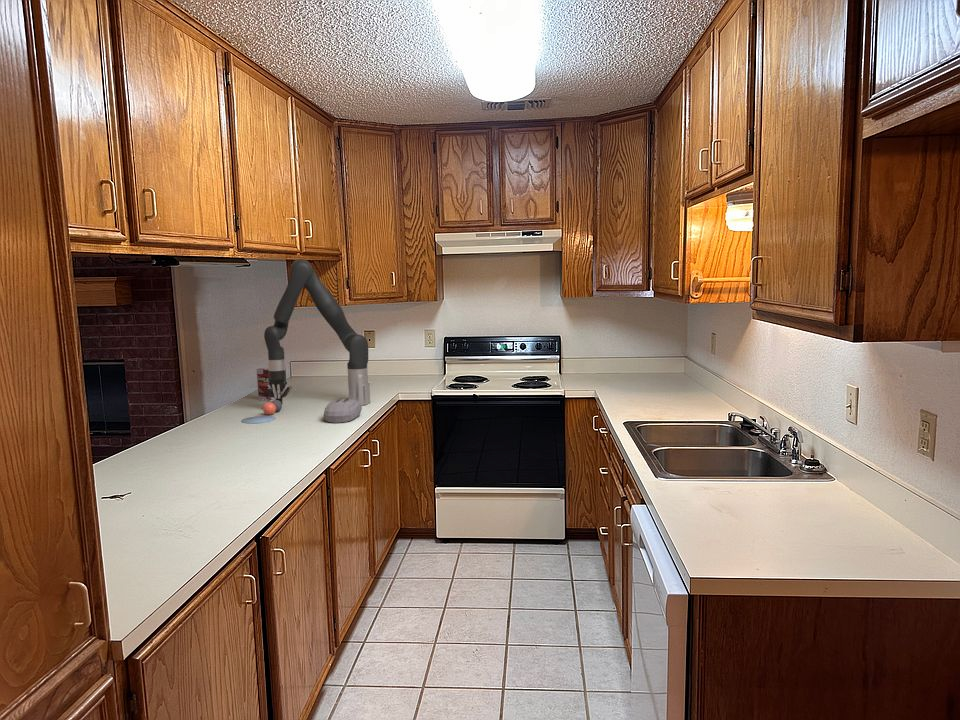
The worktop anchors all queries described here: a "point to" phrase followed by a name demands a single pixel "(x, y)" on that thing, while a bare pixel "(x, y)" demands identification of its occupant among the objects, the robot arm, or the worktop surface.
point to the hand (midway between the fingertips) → (279, 406)
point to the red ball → (269, 408)
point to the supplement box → (263, 384)
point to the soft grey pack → (342, 410)
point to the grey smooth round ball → (277, 405)
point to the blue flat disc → (258, 419)
